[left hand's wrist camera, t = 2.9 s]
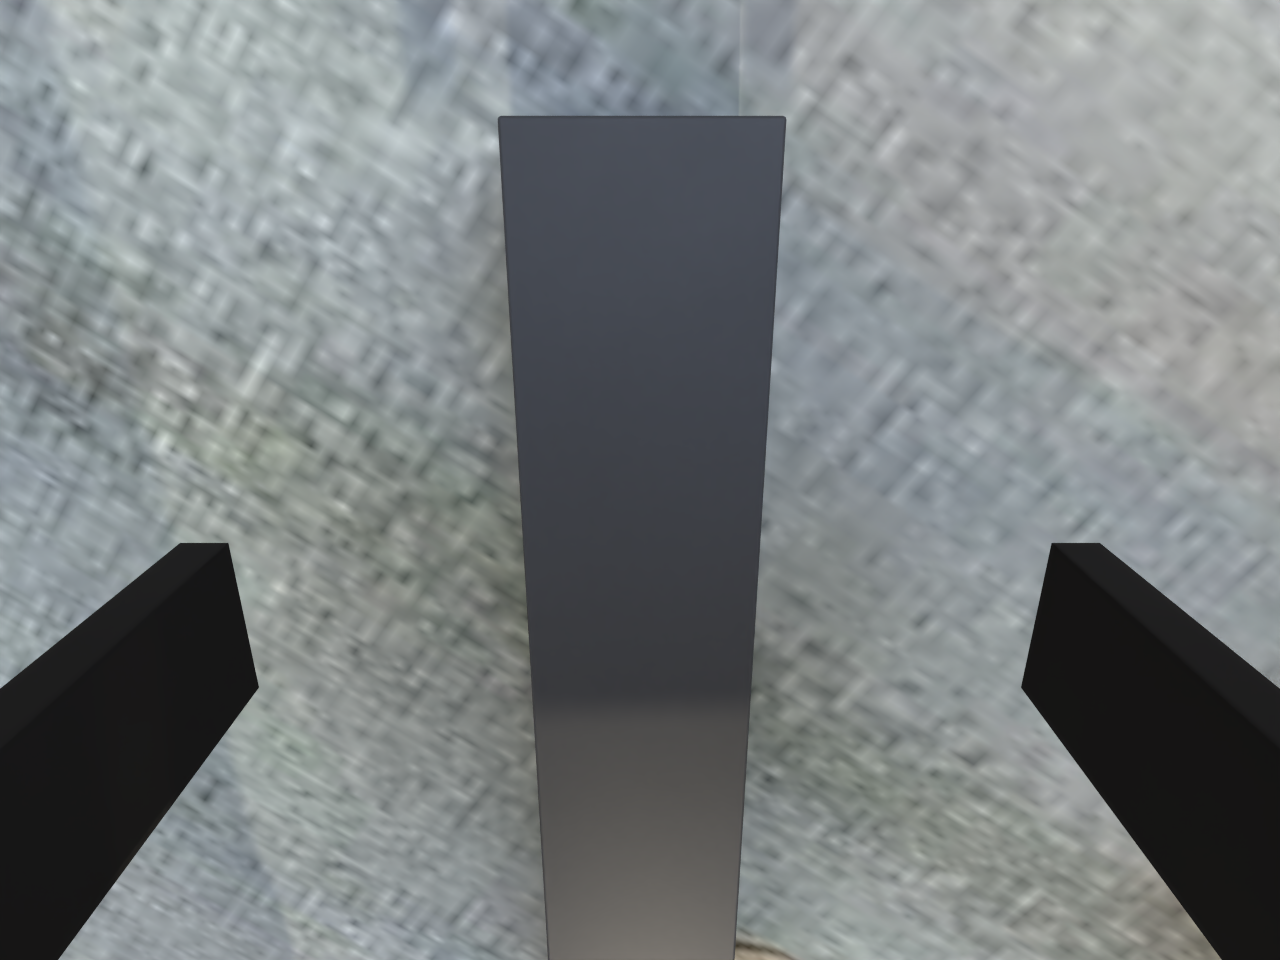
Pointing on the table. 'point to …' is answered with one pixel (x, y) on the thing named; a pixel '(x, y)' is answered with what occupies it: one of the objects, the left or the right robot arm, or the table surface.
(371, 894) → the table surface
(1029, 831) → the table surface
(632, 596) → the beam
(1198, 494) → the table surface
